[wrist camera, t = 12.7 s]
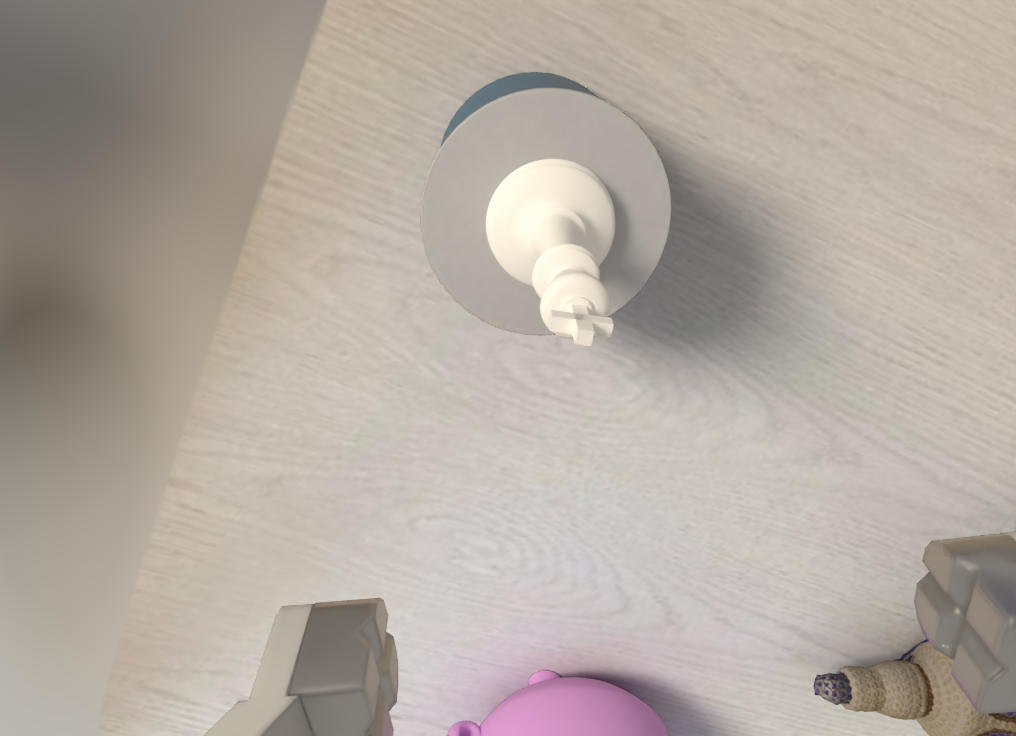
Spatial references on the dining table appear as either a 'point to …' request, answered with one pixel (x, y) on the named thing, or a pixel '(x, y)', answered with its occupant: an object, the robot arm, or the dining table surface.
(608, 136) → the yogurt tub
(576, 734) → the teapot
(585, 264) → the chess piece
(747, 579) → the dining table surface
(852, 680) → the decorative bottle
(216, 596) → the dining table surface
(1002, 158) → the dining table surface
